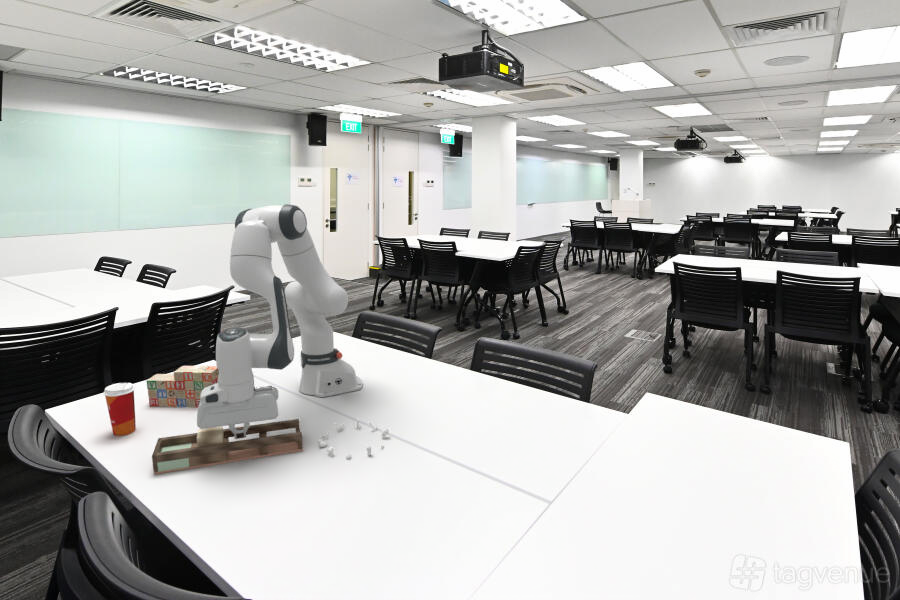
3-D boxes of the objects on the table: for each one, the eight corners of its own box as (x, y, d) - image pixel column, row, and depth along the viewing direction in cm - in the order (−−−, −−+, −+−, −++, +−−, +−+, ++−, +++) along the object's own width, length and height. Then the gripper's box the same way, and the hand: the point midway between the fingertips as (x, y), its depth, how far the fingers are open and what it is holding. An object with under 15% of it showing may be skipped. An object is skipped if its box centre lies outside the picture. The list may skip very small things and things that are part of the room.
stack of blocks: (148, 407, 168) (144, 371, 165) (159, 399, 174) (155, 365, 171) (214, 407, 168) (211, 372, 165) (222, 400, 174) (219, 365, 171)
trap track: (299, 434, 150) (298, 418, 149) (302, 450, 141) (301, 433, 140) (160, 455, 137) (158, 438, 136) (154, 474, 128) (151, 456, 127)
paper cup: (118, 425, 154) (112, 382, 151) (144, 425, 154) (139, 381, 152) (103, 438, 146) (96, 392, 143) (131, 437, 147) (125, 391, 144)
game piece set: (390, 427, 156) (390, 416, 155) (384, 461, 136) (384, 448, 136) (326, 428, 155) (325, 416, 154) (311, 462, 136) (310, 448, 135)
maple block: (223, 439, 140) (222, 426, 139) (223, 448, 135) (221, 434, 135) (199, 443, 138) (198, 429, 137) (198, 452, 133) (196, 437, 132)
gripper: (277, 380, 143) (280, 426, 145) (195, 390, 135) (200, 438, 138) (278, 389, 137) (281, 436, 140) (193, 398, 129) (198, 449, 132)
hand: (240, 437), depth 139 cm, fingers closed
